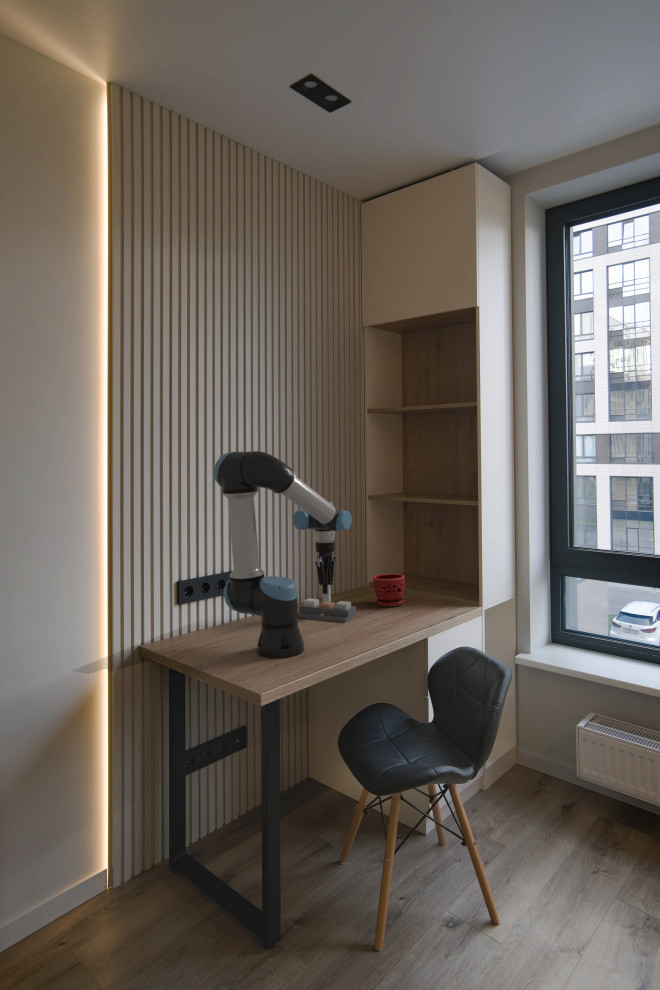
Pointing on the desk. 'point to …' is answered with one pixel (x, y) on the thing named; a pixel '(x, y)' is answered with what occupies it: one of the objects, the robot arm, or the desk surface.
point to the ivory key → (311, 602)
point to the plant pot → (389, 589)
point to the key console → (326, 613)
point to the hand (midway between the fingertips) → (326, 601)
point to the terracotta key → (327, 605)
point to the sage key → (343, 605)
